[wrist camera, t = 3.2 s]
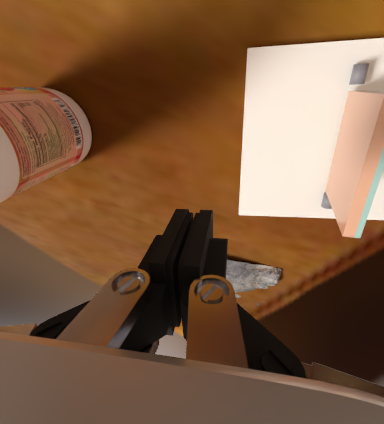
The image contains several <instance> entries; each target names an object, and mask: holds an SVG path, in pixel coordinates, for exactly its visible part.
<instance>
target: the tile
mask: <svg viewBox="0 0 384 424" xmlns="http://www.w3.org/2000/svg"><path fill="white" fill-rule="evenodd" d="M383 170H384V92H380V91H367V90H356V91H348V95H347V99H346V103H345V108H344V112H343V116H342V121H341V125H340V129H339V133H338V138H337V142H336V146H335V151H334V155H333V159H332V164H331V168H330V172H329V176H328V181H327V185H326V189H325V191H326V194H327V196H328V199H329V202H330V204H331V207H332V210H333V212H334V215H335V217H336V220H337V223H338V225H339V228H340V231H341V233H342V236H347V237H355V238H360V237H361V235H362V232H363V229H364V226H365V223H366V220H367V217H368V214H369V211H370V208H371V205H372V202H373V199H374V196H375V193H376V190H377V187H378V184H379V182H380V179H381V176H382V173H383Z"/></svg>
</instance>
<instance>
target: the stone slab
mask: <svg viewBox="0 0 384 424" xmlns="http://www.w3.org/2000/svg"><path fill="white" fill-rule="evenodd" d="M281 271H282V269H279V268H272V266H266V265H254V264H249V263H245V262H236V261H231V260H227V270H226V279H227V280H228V281H229V282H230V283H231V284H232V286H233V288H234V292H243V291H250V290H255V289H257V288H262V289H268V286H275V285H276V283H277V284H278V282H279V278H280V274H281ZM235 297H236V298H237V297H238V298H240V296H238V295H236V294H235ZM257 305H260V303H259V304H257Z"/></svg>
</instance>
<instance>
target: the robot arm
mask: <svg viewBox="0 0 384 424" xmlns="http://www.w3.org/2000/svg"><path fill="white" fill-rule="evenodd" d="M227 245H228V239H220V238H213V210H200V213H196V214H195V216H194V219H193V213H189V210H188V209H176V210H175V212H174V214H173V216H172V218H171V220H170V222H169V224H168V226H167V228H166V229H165V231H164V233H163V235H156V237H155V238H154V240H153V242H152V244H151V245H150V247H149V249H148V251H147V252H146V254H145V256H144V258H143V259H142V261H141V263H140V265H139V266H138V268H131V269H125V270H122V271H120V272H118V273H116V274H115V275H114V276H113V277H111V278H110V279H109V281H108V282H107V283H106V284H105V285H104V286H103V287H102V288H101V290H100V291H99V292H98V293H97V294H96V295H95V296H94V297H93V298H92V300H90V301H87V302H85V303H84V304H81V305H79V306H77V307H74V308H72V309H70V310H68V311H66V312H63V313H61V314H59V315H57V316H55V317H53V318H50V319H48V320H47V321H45V322H43V323H41V324H40V325H39V326H37V324H24V325H12V326H2V327H0V424H384V387H383V386H380V385H377V384H374V383H372V382H369V381H366V380H363V379H360V378H357V377H354V376H351V375H349V374H346V373H343V372H340V371H337V370H334V369H332V368H329V367H326V366H323V365H320V364H317V363H314V362H313V363H312V366H311V365H308V364H305V363H303V362H301V361H300V360H299V359H298V357H297V356H296V355H295V354H294V353H293V352H292V351H291V350H290V349H289V348H287V347H286V346H285V345H284V344H283V343H282V342H281V341H279V340H278V339H277V338H276V337H275V336H274V335H272V333H270V332H269V331H268V330H267V329H266V328H265V327H263V326H262V325H261V324H260V323H259V322H258V321H257V320H256V319H255V318H253V317H252V316H251V315H250V314H249V313H248V312H247V311H245V310H244V309H243V308H242V307H241V306H240V305H239V304H237V303H236V297H235V292H234V288H233V286H232V284H231V283H230V282H229V281H228V280H227V279H226V270H227ZM181 319H182V325H183V335H184V338H185V339H186V341H187V349H186V350H187V351H186V359H183V358H176V357H170V356H163V355H157V354H155V353H156V351H157V349H158V346H159V339H160V338H162V337H163V336H165V335H173V332H174V328H175V327H179V326H180V323H181Z"/></svg>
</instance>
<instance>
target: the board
mask: <svg viewBox="0 0 384 424" xmlns="http://www.w3.org/2000/svg"><path fill="white" fill-rule="evenodd" d="M356 90H367V91H380V92H384V38H375V39H362V40H349V41H335V42H322V43H308V44H295V45H282V46H268V47H255V48H248V49H247V64H246V83H245V102H244V121H243V140H242V159H241V178H240V197H239V215H253V216H281V217H309V218H336V217H335V215H334V212H333V210H332V207H331V204H330V202H329V199H328V196H327V194H326V191H325V189H326V185H327V181H328V176H329V172H330V168H331V164H332V159H333V155H334V151H335V146H336V142H337V138H338V133H339V129H340V125H341V121H342V116H343V112H344V108H345V103H346V99H347V95H348V91H356ZM367 220H384V170H383V173H382V176H381V179H380V182H379V184H378V187H377V190H376V193H375V196H374V199H373V202H372V205H371V208H370V211H369V214H368V217H367Z"/></svg>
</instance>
